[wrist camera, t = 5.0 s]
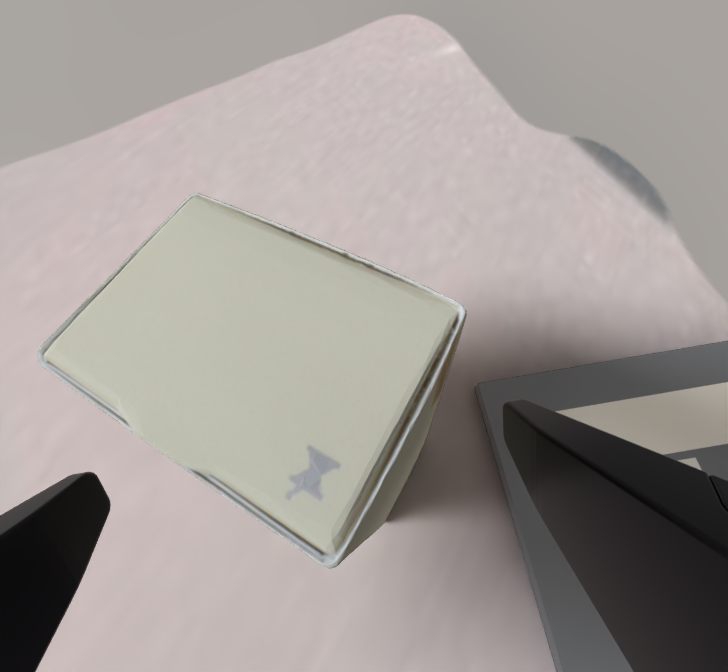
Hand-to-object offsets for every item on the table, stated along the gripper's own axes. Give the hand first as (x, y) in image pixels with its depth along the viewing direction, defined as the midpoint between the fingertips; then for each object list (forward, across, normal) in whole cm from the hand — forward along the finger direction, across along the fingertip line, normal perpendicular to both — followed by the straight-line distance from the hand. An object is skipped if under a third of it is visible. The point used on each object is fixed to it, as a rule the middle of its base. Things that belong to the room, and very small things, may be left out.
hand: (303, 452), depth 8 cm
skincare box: (+8, 0, +6) cm, 9 cm away
